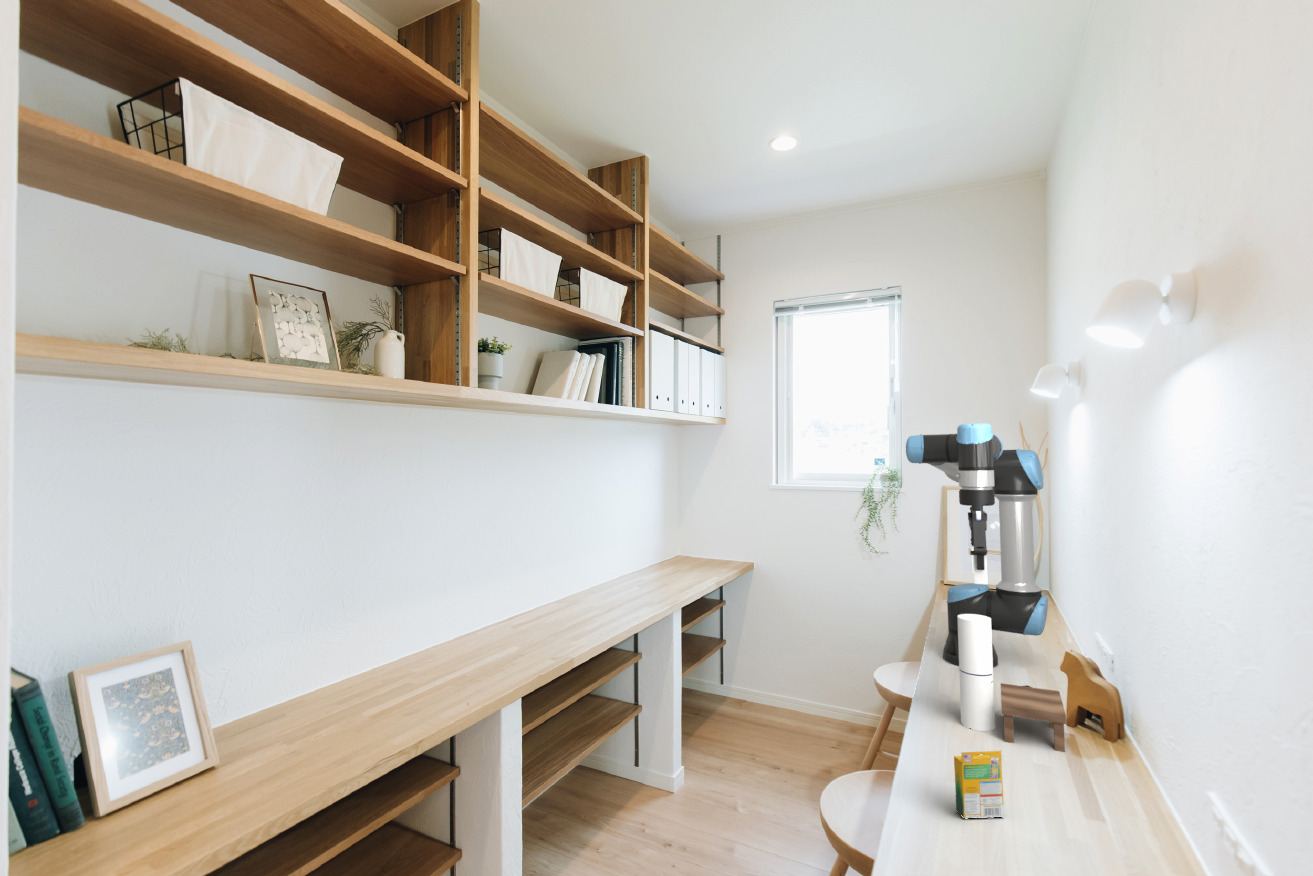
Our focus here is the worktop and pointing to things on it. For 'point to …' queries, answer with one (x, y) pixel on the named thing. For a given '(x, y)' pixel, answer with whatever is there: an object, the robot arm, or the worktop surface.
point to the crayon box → (979, 784)
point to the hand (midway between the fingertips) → (979, 578)
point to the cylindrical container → (976, 672)
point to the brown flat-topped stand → (1033, 710)
